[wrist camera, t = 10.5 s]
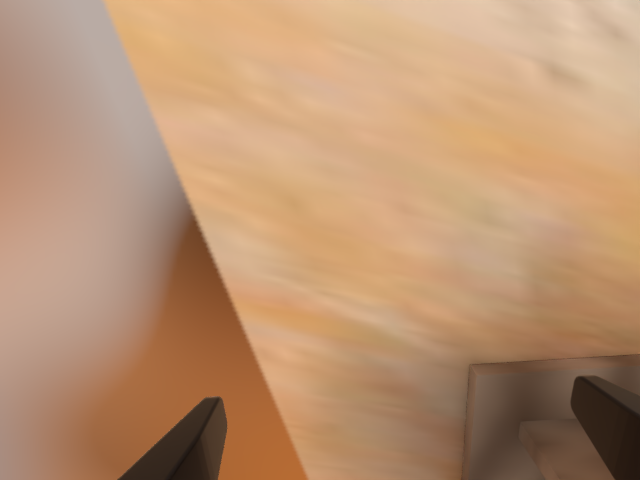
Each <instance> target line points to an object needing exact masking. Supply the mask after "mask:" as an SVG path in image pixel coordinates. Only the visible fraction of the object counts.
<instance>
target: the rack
mask: <svg viewBox="0 0 640 480" xmlns="http://www.w3.org/2000/svg"><path fill="white" fill-rule="evenodd" d="M580 375H596V376H598V377H601V378H603V379H605V380H607V381H609V382H612V383H614V384H616V385H618V386H620V387H622V388H625V389H627V390H629V391H631V392H633V393H635V394H638V395H640V355H623V356H606V357H590V358H573V359H556V360H540V361H523V362H507V363H490V364H473V365H470V369H469V383H468V397H467V411H466V425H465V438H464V452H463V466H462V480H615V479H614V478H613V476H612V475H611V473H610V472H609V470H608V469H607V467H606V465H605V464H604V462H603V461H602V459H601V457H600V456H599V454H598V452H597V451H596V449H595V447H594V446H593V444H592V443H591V441H590V439H589V438H588V436H587V434H586V433H585V431H584V430H583V428H582V426H581V425H580V423H579V421H578V420H577V418H576V416H575V415H574V413H573V411H572V409H571V405H570V399H571V394H572V389H573V383H574V379H575V378H576V377H577V376H580Z"/></svg>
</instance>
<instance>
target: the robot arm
mask: <svg viewBox="0 0 640 480" xmlns="http://www.w3.org/2000/svg"><path fill="white" fill-rule="evenodd" d="M570 405H571V409H572V411H573V413H574V415H575V416H576V418H577V420H578V421H579V423H580V425H581V426H582V428H583V430H584V431H585V433H586V434H587V436H588V438H589V439H590V441H591V443H592V444H593V446H594V447H595V449H596V451H597V452H598V454H599V456H600V457H601V459H602V461H603V462H604V464H605V465H606V467H607V469H608V470H609V472H610V473H611V475H612V476H613V478H614V479H615V480H640V395H638V394H635V393H633V392H631V391H629V390H627V389H625V388H622V387H620V386H618V385H616V384H614V383H612V382H609V381H607V380H605V379H603V378H601V377H598V376H596V375H580V376H577V377H576V378H575V379H574V383H573V389H572V394H571V399H570ZM226 433H227V419H226V414H225V409H224V403H223V400H222V398H221V397H218V396H217V397H206V398H204V399H203V400H202V401H201V402H200V403H199V404H198V405H196V406H195V407H194V408H193V409H192V410H191V411H190V412H189V413H188V414H187V415H186V416H185V417H184V418H183V419H182V420H180V421H179V423H177V424H176V425H175V426H174V427H173V428H172V429H171V430H170V431H169V432H168V433H167V434H166V435H164V437H162V438H161V439H160V440H159V441H158V442H157V443H156V444H155V445H154V446H153V447H152V448H151V449H150V450H149V451H147V452H146V453H145V454H144V455H143V456H142V457H141V458H140V459H139V460H138V461H137V462H136V463H135V464H134V465H133V466H132V467H131V468H129V469H128V470H127V471H126V472H125V473H124V474H123V475H122V476H121V477H120V478H119V479H118V480H218V475H219V470H220V464H221V459H222V454H223V448H224V443H225V438H226Z"/></svg>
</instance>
